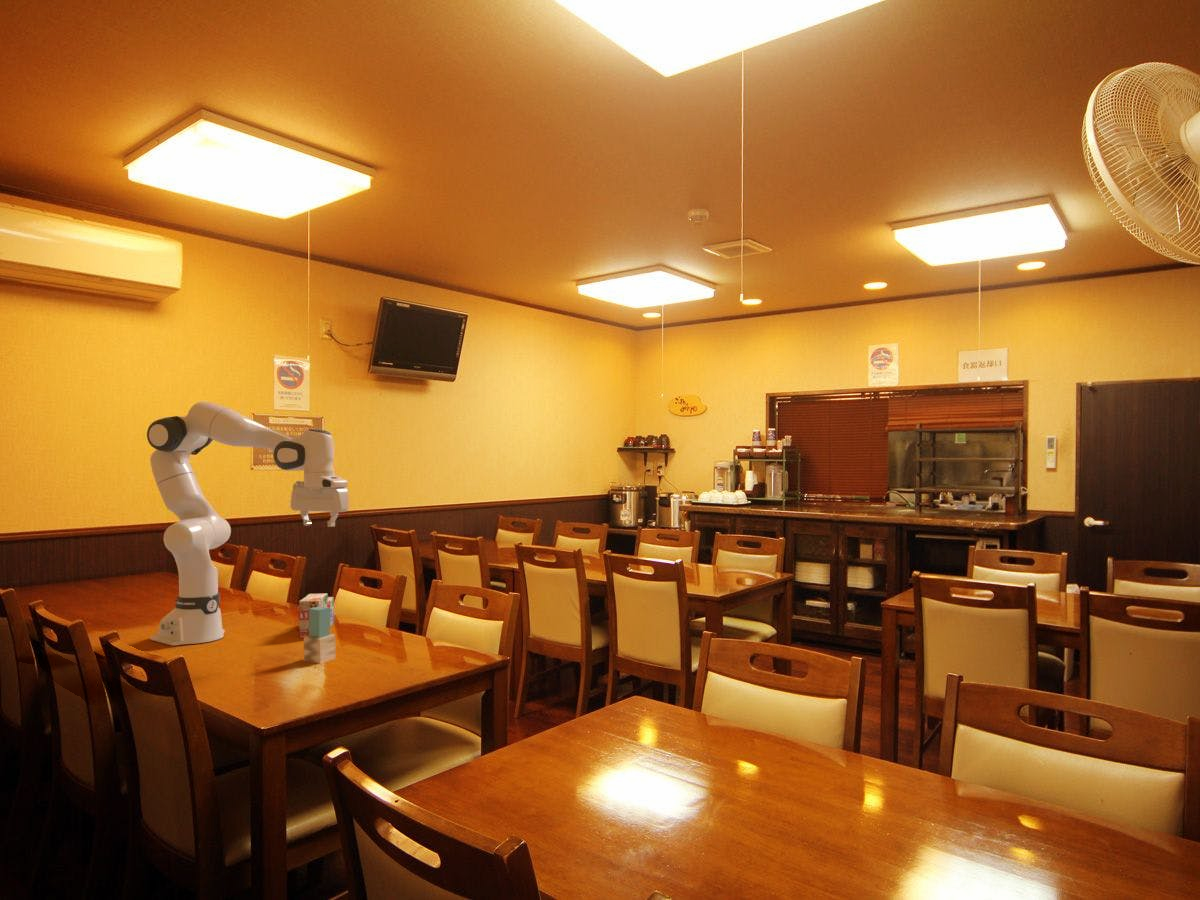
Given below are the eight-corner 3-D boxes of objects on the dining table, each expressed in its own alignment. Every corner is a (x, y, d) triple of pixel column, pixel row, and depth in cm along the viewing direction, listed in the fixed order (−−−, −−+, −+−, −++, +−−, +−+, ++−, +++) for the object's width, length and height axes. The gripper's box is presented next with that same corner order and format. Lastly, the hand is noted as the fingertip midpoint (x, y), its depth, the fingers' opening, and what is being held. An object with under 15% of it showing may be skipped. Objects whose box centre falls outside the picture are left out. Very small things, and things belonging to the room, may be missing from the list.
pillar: (308, 636, 217) (308, 608, 217) (319, 633, 221) (319, 606, 221) (319, 638, 215) (319, 610, 215) (329, 635, 219) (329, 607, 219)
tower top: (303, 649, 216) (303, 637, 216) (319, 644, 222) (319, 632, 222) (320, 651, 214) (320, 639, 214) (335, 646, 219) (335, 634, 219)
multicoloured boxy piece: (316, 623, 264) (316, 588, 264) (334, 623, 265) (334, 588, 265) (298, 638, 243) (298, 600, 243) (318, 638, 243) (318, 600, 243)
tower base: (304, 661, 216) (304, 649, 216) (319, 656, 222) (319, 644, 222) (320, 663, 214) (320, 651, 214) (335, 658, 219) (335, 646, 219)
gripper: (285, 481, 234) (285, 525, 234) (337, 482, 227) (337, 528, 227) (300, 480, 240) (300, 523, 240) (352, 481, 232) (352, 526, 232)
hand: (319, 525), depth 233 cm, fingers open, 8 cm apart
